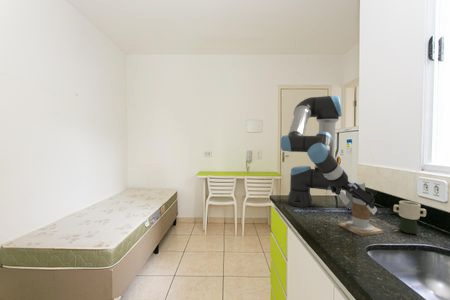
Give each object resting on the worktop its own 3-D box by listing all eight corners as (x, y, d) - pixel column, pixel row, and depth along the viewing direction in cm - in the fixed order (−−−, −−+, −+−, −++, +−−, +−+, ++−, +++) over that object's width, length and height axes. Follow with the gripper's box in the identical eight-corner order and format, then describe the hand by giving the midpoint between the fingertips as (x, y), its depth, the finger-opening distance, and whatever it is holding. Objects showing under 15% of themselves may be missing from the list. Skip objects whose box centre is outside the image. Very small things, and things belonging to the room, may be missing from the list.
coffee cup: (369, 223, 99) (372, 191, 98) (373, 230, 92) (376, 195, 90) (348, 219, 103) (351, 188, 102) (350, 226, 95) (353, 192, 94)
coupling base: (338, 225, 102) (338, 221, 102) (358, 222, 105) (358, 218, 105) (361, 236, 90) (361, 231, 90) (382, 233, 94) (383, 228, 93)
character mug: (423, 232, 95) (425, 203, 94) (426, 238, 89) (428, 207, 88) (391, 226, 101) (393, 198, 100) (392, 231, 95) (394, 202, 95)
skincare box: (365, 210, 124) (366, 182, 124) (359, 212, 120) (360, 184, 120) (350, 206, 131) (351, 180, 131) (344, 208, 127) (345, 181, 127)
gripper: (309, 175, 103) (333, 205, 108) (355, 187, 79) (383, 223, 84) (319, 164, 104) (342, 194, 109) (366, 172, 81) (394, 209, 86)
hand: (360, 207), depth 97 cm, fingers open, 13 cm apart
